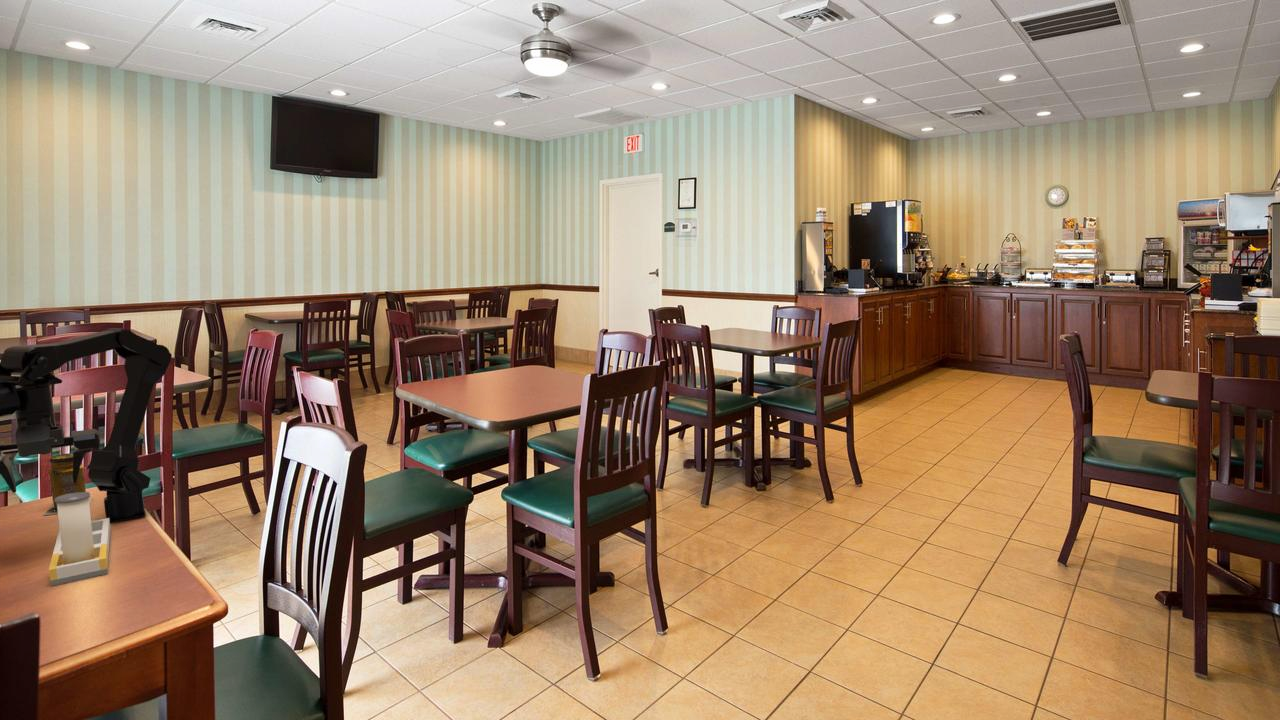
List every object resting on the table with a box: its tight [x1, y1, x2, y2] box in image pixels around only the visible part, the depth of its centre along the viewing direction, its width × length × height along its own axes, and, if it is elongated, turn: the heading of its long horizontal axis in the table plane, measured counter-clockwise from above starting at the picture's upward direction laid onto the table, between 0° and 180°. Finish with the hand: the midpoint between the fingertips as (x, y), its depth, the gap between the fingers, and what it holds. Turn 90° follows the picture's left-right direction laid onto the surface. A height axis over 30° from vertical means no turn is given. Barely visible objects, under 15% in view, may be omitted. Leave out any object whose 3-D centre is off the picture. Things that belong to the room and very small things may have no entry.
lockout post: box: [55, 491, 95, 565], centre depth 128 cm, size 5×5×13 cm
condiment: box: [42, 452, 94, 516], centre depth 161 cm, size 7×8×12 cm
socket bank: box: [48, 517, 112, 587], centre depth 135 cm, size 8×24×3 cm, turn 35°
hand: (45, 487), depth 139 cm, fingers open, 9 cm apart
